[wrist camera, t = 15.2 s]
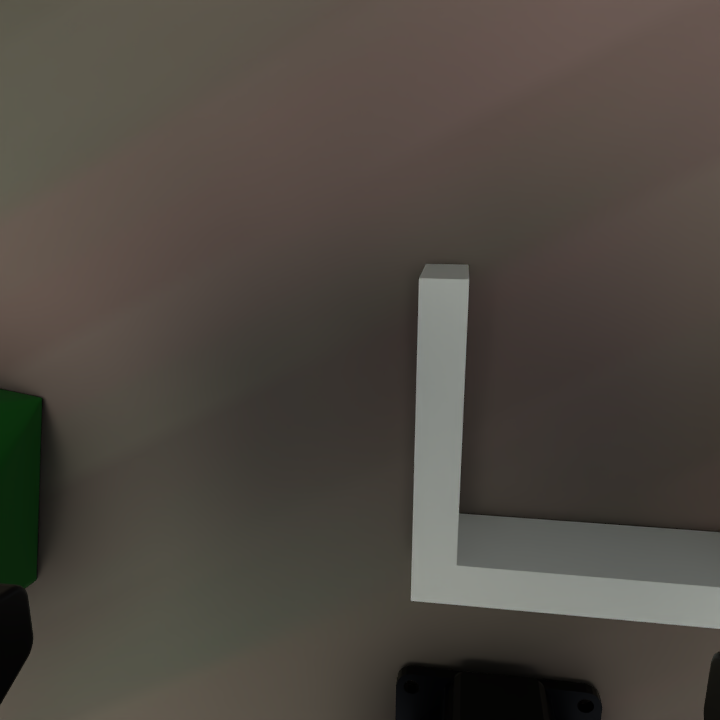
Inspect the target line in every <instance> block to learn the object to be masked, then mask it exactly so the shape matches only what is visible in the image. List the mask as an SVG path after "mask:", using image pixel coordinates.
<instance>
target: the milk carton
mask: <svg viewBox="0 0 720 720" xmlns="http://www.w3.org/2000/svg"><path fill="white" fill-rule="evenodd" d="M41 418H42V398H41V397H36V396H31V395H26V394H22V393H17V392H12V391H8V390H3V389H0V583H4V584H14V585H20V586H22V587H23V588H24V589H25V588H26V587H28V586H29V585H30V584H32V583H33V582H34V581H36V579H37V545H38V514H39V482H40V450H41Z"/></svg>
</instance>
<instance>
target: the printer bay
mask: <svg viewBox="0 0 720 720" xmlns="http://www.w3.org/2000/svg"><path fill="white" fill-rule="evenodd" d="M468 296H469V265H463V264H425V267H424V269H423V271H422V273H421V275H420V277H419V299H418V339H417V378H416V417H415V456H414V495H413V535H412V574H411V601H419V602H430V603H441V604H452V605H463V606H474V607H485V608H496V609H507V610H518V611H529V612H540V613H551V614H562V615H573V616H584V617H595V618H606V619H617V620H628V621H639V622H650V623H661V624H672V625H683V626H694V627H705V628H716V629H720V532H710V531H696V530H683V529H669V528H655V527H641V526H627V525H613V524H599V523H585V522H571V521H557V520H543V519H530V518H516V517H502V516H488V515H474V514H460V513H459V499H460V476H461V454H462V431H463V409H464V386H465V364H466V341H467V319H468Z"/></svg>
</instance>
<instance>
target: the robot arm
mask: <svg viewBox="0 0 720 720" xmlns="http://www.w3.org/2000/svg"><path fill="white" fill-rule="evenodd" d="M32 644H33V630H32V623H31V616H30V609H29V601H28V595H27V592H26V590H25V589H24V588H23V587H22V586H20V585H14V584H4V583H0V704H1V703H2V701H3V699H4V697H5V696H6V694H7V692H8V691H9V689H10V687H11V685H12V684H13V682H14V680H15V679H16V677H17V675H18V673H19V672H20V670H21V668H22V667H23V665H24V663H25V661H26V660H27V658H28V656H29V654H30V651H31V648H32ZM407 681H415V682H416V683H417V685H410V684H408V683H407ZM584 699H587V700H590V702H588V703H585V704H582V703H579V701H581V700H584ZM601 713H602V703H601V699H600V695H599V693H598V691H597V690H596V689H595V688H594V687H593V686H591V685H588V684H582V683H572V682H563V681H553V680H544V679H534V678H524V677H515V676H505V675H496V674H486V673H476V672H467V671H457V670H448V669H438V668H429V667H419V666H406V667H404V668H402V669H401V670H400V671H399V673H398V677H397V684H396V720H601ZM704 720H720V652H718V653H716V654H715V655H714V656H713V659H712V661H711V666H710V672H709V679H708V685H707V692H706V698H705V704H704Z"/></svg>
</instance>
